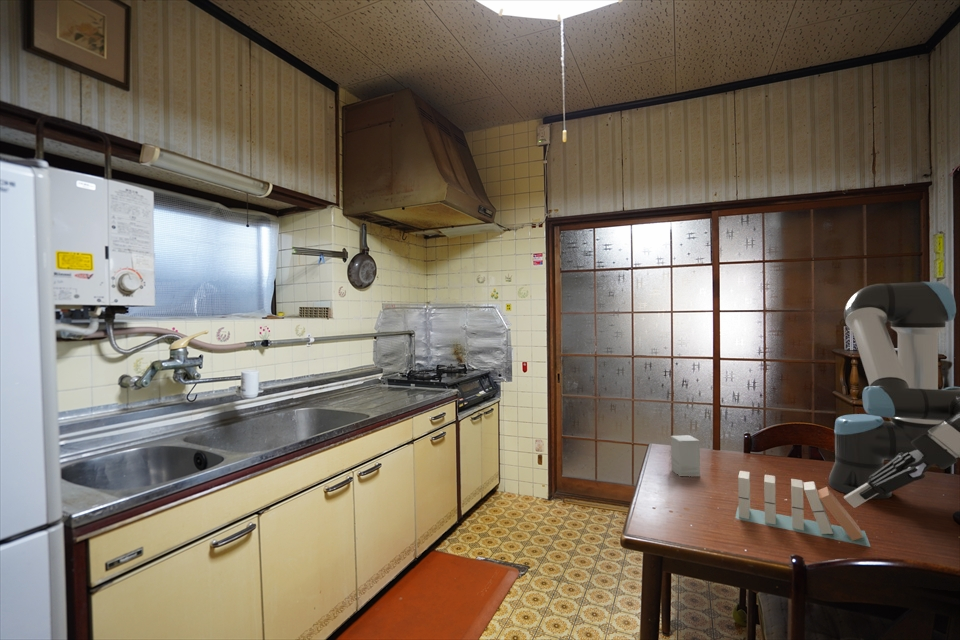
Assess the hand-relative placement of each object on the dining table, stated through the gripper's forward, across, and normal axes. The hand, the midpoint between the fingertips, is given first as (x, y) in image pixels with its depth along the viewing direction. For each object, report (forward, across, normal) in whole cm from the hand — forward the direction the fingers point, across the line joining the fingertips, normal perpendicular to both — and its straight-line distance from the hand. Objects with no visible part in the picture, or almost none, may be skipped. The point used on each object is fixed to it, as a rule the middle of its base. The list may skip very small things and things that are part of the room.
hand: (849, 502), depth 110 cm
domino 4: (+9, 0, -2) cm, 9 cm away
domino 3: (+13, 0, +2) cm, 13 cm away
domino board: (+14, 0, +1) cm, 14 cm away
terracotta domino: (+5, 0, -6) cm, 8 cm away
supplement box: (+36, +28, +23) cm, 51 cm away
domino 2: (+18, 0, +6) cm, 18 cm away
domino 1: (+22, 0, +10) cm, 24 cm away
